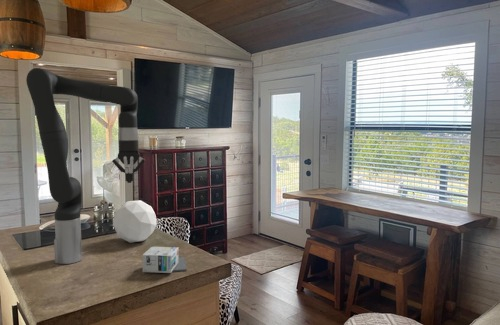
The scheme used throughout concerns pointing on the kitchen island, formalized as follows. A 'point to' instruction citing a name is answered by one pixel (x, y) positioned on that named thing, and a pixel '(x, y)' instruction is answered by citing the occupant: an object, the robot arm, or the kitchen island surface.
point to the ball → (134, 221)
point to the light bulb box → (160, 259)
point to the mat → (179, 265)
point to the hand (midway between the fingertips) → (129, 182)
